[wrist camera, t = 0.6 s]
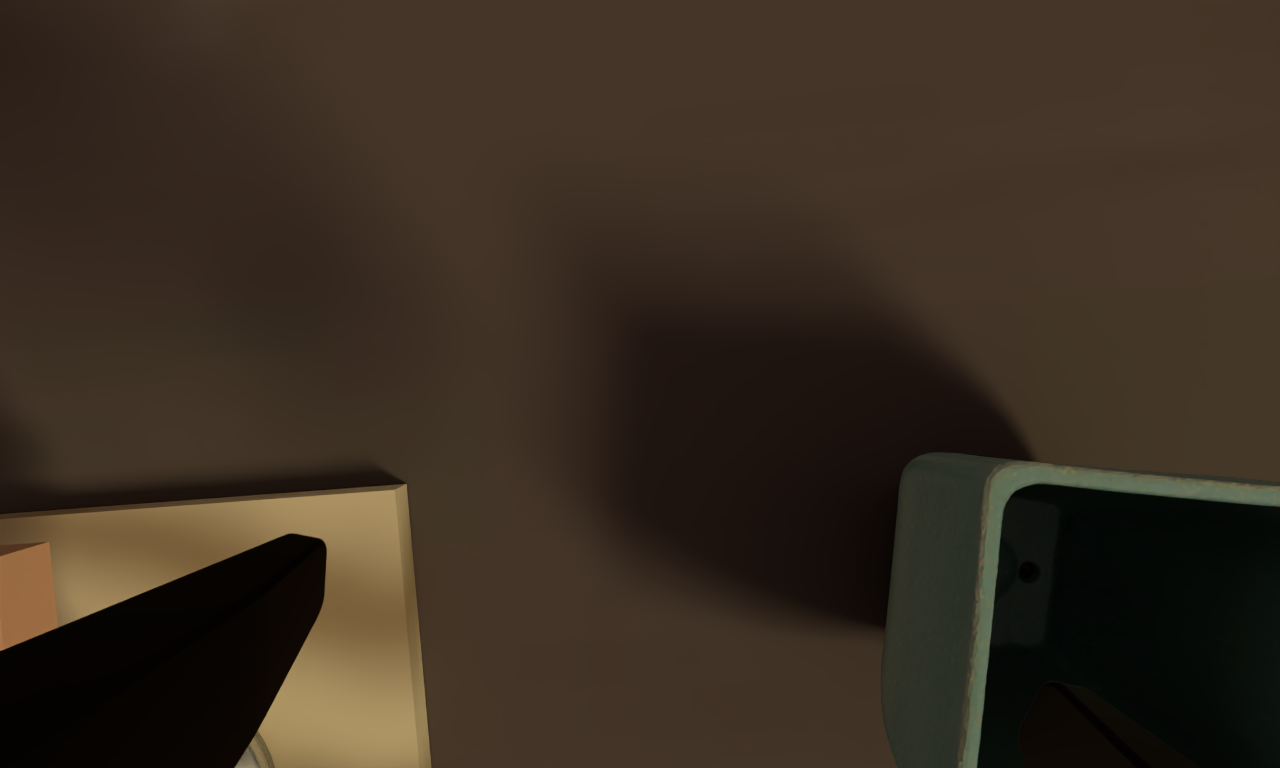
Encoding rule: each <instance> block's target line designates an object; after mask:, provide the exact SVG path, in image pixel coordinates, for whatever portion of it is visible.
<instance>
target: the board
mask: <svg viewBox="0 0 1280 768" xmlns="http://www.w3.org/2000/svg"><path fill="white" fill-rule="evenodd" d="M290 533H294V534H300V535H305V536H311V537H316V538H320V539H322V540H323V541H324V542H325V543H326V548H327V559H326V578H325V595H324V601H323V605H322V608H321V611H320V613H319V616H318V618H317V620H316V622H315V624H314V625H313V627H312V629H311V631H310V633H309V635H308V637H307V639H306V641H305V643H304V644H303V646H302V648H301V650H300V652H299V654H298V656H297V658H296V660H295V662H294V663H293V665H292V667H291V669H290V671H289V673H288V675H287V677H286V679H285V681H284V683H283V684H282V686H281V688H280V690H279V692H278V694H277V696H276V698H275V700H274V702H273V703H272V705H271V707H270V709H269V711H268V713H267V715H266V717H265V719H264V720H263V722H262V724H261V726H260V728H259V729H258V732H259V733H260V735H261V736H262V738H263V740H264V741H265V743H266V745H267V747H268V750H269V752H270V754H271V756H272V760H273V763H274V766H275V768H431V758H430V746H429V735H428V724H427V712H426V701H425V689H424V678H423V667H422V655H421V644H420V632H419V621H418V610H417V598H416V587H415V575H414V564H413V553H412V541H411V530H410V518H409V507H408V496H407V484H399V485H386V486H372V487H359V488H345V489H332V490H318V491H305V492H291V493H278V494H265V495H251V496H238V497H224V498H211V499H197V500H184V501H170V502H157V503H144V504H130V505H117V506H103V507H90V508H76V509H63V510H50V511H36V512H23V513H9V514H0V545H11V544H24V543H38V542H49V545H50V554H51V564H52V573H53V583H54V593H55V602H56V612H57V621H58V627H60V626H63V625H65V624H68V623H70V622H72V621H75V620H77V619H80V618H82V617H85V616H87V615H90V614H92V613H95V612H97V611H99V610H102V609H104V608H107V607H109V606H112V605H114V604H117V603H119V602H121V601H124V600H126V599H129V598H131V597H134V596H136V595H139V594H141V593H144V592H146V591H148V590H151V589H153V588H156V587H158V586H161V585H163V584H166V583H168V582H170V581H173V580H175V579H178V578H180V577H183V576H185V575H188V574H190V573H192V572H195V571H197V570H200V569H202V568H205V567H207V566H210V565H212V564H215V563H217V562H219V561H222V560H224V559H227V558H229V557H232V556H234V555H237V554H239V553H241V552H244V551H246V550H249V549H251V548H254V547H256V546H259V545H261V544H264V543H266V542H268V541H271V540H273V539H276V538H278V537H281V536H283V535H286V534H290Z"/></svg>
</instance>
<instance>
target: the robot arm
mask: <svg viewBox="0 0 1280 768" xmlns="http://www.w3.org/2000/svg"><path fill="white" fill-rule="evenodd" d="M326 559H327V548H326V543H325V542H324V541H323V540H322V539H320V538H316V537H311V536H305V535H300V534H294V533H290V534H286V535H283V536H281V537H278V538H276V539H273V540H271V541H268V542H266V543H264V544H261V545H259V546H256V547H254V548H251V549H249V550H246V551H244V552H241V553H239V554H237V555H234V556H232V557H229V558H227V559H224V560H222V561H219V562H217V563H215V564H212V565H210V566H207V567H205V568H202V569H200V570H197V571H195V572H192V573H190V574H188V575H185V576H183V577H180V578H178V579H175V580H173V581H170V582H168V583H166V584H163V585H161V586H158V587H156V588H153V589H151V590H148V591H146V592H144V593H141V594H139V595H136V596H134V597H131V598H129V599H126V600H124V601H121V602H119V603H117V604H114V605H112V606H109V607H107V608H104V609H102V610H99V611H97V612H95V613H92V614H90V615H87V616H85V617H82V618H80V619H77V620H75V621H72V622H70V623H68V624H65V625H63V626H60V627H58V628H55V629H53V630H50V631H48V632H46V633H43V634H41V635H38V636H36V637H33V638H31V639H28V640H26V641H23V642H21V643H19V644H16V645H14V646H11V647H9V648H6V649H4V650H1V651H0V768H235V766H236V765H237V763H238V762H239V760H240V759H241V757H242V756H243V754H244V752H245V751H246V749H247V748H248V746H249V744H250V743H251V741H252V740H253V738H254V737H255V735H256V733H257V731H258V729H259V728H260V726H261V724H262V722H263V720H264V719H265V717H266V715H267V713H268V711H269V709H270V707H271V705H272V703H273V702H274V700H275V698H276V696H277V694H278V692H279V690H280V688H281V686H282V684H283V683H284V681H285V679H286V677H287V675H288V673H289V671H290V669H291V667H292V665H293V663H294V662H295V660H296V658H297V656H298V654H299V652H300V650H301V648H302V646H303V644H304V643H305V641H306V639H307V637H308V635H309V633H310V631H311V629H312V627H313V625H314V624H315V622H316V620H317V618H318V616H319V613H320V611H321V608H322V605H323V601H324V595H325V578H326ZM1018 741H1019V748H1020V752H1021V755H1022V758H1023V761H1024V764H1025V767H1026V768H1200V767H1198V766H1197V765H1196V764H1194V763H1193V762H1191V761H1190V760H1188V759H1187V758H1186V757H1184V756H1183V755H1181V754H1180V753H1178V752H1177V751H1176V750H1174V749H1173V748H1171V747H1170V746H1169V745H1167V744H1166V743H1164V742H1163V741H1161V740H1160V739H1159V738H1157V737H1156V736H1154V735H1153V734H1152V733H1150V732H1149V731H1147V730H1146V729H1144V728H1143V727H1142V726H1140V725H1139V724H1137V723H1136V722H1135V721H1133V720H1132V719H1130V718H1129V717H1127V716H1126V715H1125V714H1123V713H1122V712H1120V711H1119V710H1117V709H1116V708H1115V707H1113V706H1112V705H1110V704H1109V703H1108V702H1106V701H1105V700H1103V699H1102V698H1100V697H1099V696H1098V695H1096V694H1095V693H1093V692H1092V691H1091V690H1089V689H1087V688H1086V687H1083V686H1081V685H1076V684H1071V683H1066V682H1061V681H1048V682H1047V683H1045V684H1044V685H1043V686H1042V687H1041V689H1040V690H1039V692H1038V694H1037V696H1036V698H1035V700H1034V702H1033V703H1032V705H1031V707H1030V709H1029V711H1028V713H1027V715H1026V717H1025V719H1024V720H1023V722H1022V724H1021V726H1020V730H1019V736H1018Z"/></svg>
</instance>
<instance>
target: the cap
mask: <svg viewBox="0 0 1280 768" xmlns="http://www.w3.org/2000/svg"><path fill="white" fill-rule="evenodd" d="M55 628H58V621H57V612H56V602H55V593H54V583H53V573H52V564H51V554H50V545H49V542H38V543H24V544H11V545H0V651H1V650H4V649H6V648H9V647H11V646H14V645H16V644H19V643H21V642H23V641H26V640H28V639H31V638H33V637H36V636H38V635H41V634H43V633H46V632H48V631H50V630H53V629H55Z"/></svg>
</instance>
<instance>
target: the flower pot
mask: <svg viewBox="0 0 1280 768" xmlns="http://www.w3.org/2000/svg"><path fill="white" fill-rule="evenodd" d="M1025 562H1030V563H1032V565H1033V566H1034V573H1033V574H1032V575H1031V576H1030V577H1029V578H1023V577H1022V576H1020V574H1019V570H1020V567H1021V565H1022V564H1024V563H1025ZM1048 681H1061V682H1066V683H1071V684H1076V685H1081V686H1083V687H1086V688H1087V689H1089V690H1091V691H1092V692H1093V693H1095V694H1096V695H1098V696H1099V697H1100V698H1102V699H1103V700H1105V701H1106V702H1108V703H1109V704H1110V705H1112V706H1113V707H1115V708H1116V709H1117V710H1119V711H1120V712H1122V713H1123V714H1125V715H1126V716H1127V717H1129V718H1130V719H1132V720H1133V721H1135V722H1136V723H1137V724H1139V725H1140V726H1142V727H1143V728H1144V729H1146V730H1147V731H1149V732H1150V733H1152V734H1153V735H1154V736H1156V737H1157V738H1159V739H1160V740H1161V741H1163V742H1164V743H1166V744H1167V745H1169V746H1170V747H1171V748H1173V749H1174V750H1176V751H1177V752H1178V753H1180V754H1181V755H1183V756H1184V757H1186V758H1187V759H1188V760H1190V761H1191V762H1193V763H1194V764H1196V765H1197V766H1198V767H1200V768H1280V482H1273V481H1263V480H1254V479H1244V478H1234V477H1222V476H1209V475H1193V474H1178V473H1164V472H1150V471H1136V470H1122V469H1110V468H1098V467H1087V466H1075V465H1063V464H1052V463H1042V462H1032V461H1022V460H1012V459H1002V458H992V457H983V456H975V455H967V454H959V453H943V452H934V453H927V454H923V455H920V456H918V457H916V458H914V459H912V460H911V461H910V462H909V463H908V464H907V465H906V466H905V468H904V470H903V472H902V475H901V480H900V486H899V495H898V508H897V519H896V529H895V540H894V550H893V560H892V570H891V580H890V590H889V600H888V609H887V619H886V628H885V637H884V645H883V653H882V664H881V704H882V711H883V719H884V725H885V729H886V733H887V736H888V740H889V743H890V746H891V749H892V752H893V756H894V758H895V761H896V764H897V766H898V768H1026V767H1025V764H1024V761H1023V758H1022V755H1021V752H1020V748H1019V741H1018V736H1019V730H1020V726H1021V724H1022V722H1023V720H1024V719H1025V717H1026V715H1027V713H1028V711H1029V709H1030V707H1031V705H1032V703H1033V702H1034V700H1035V698H1036V696H1037V694H1038V692H1039V690H1040V689H1041V687H1042V686H1043V685H1044V684H1045V683H1047V682H1048Z"/></svg>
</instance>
